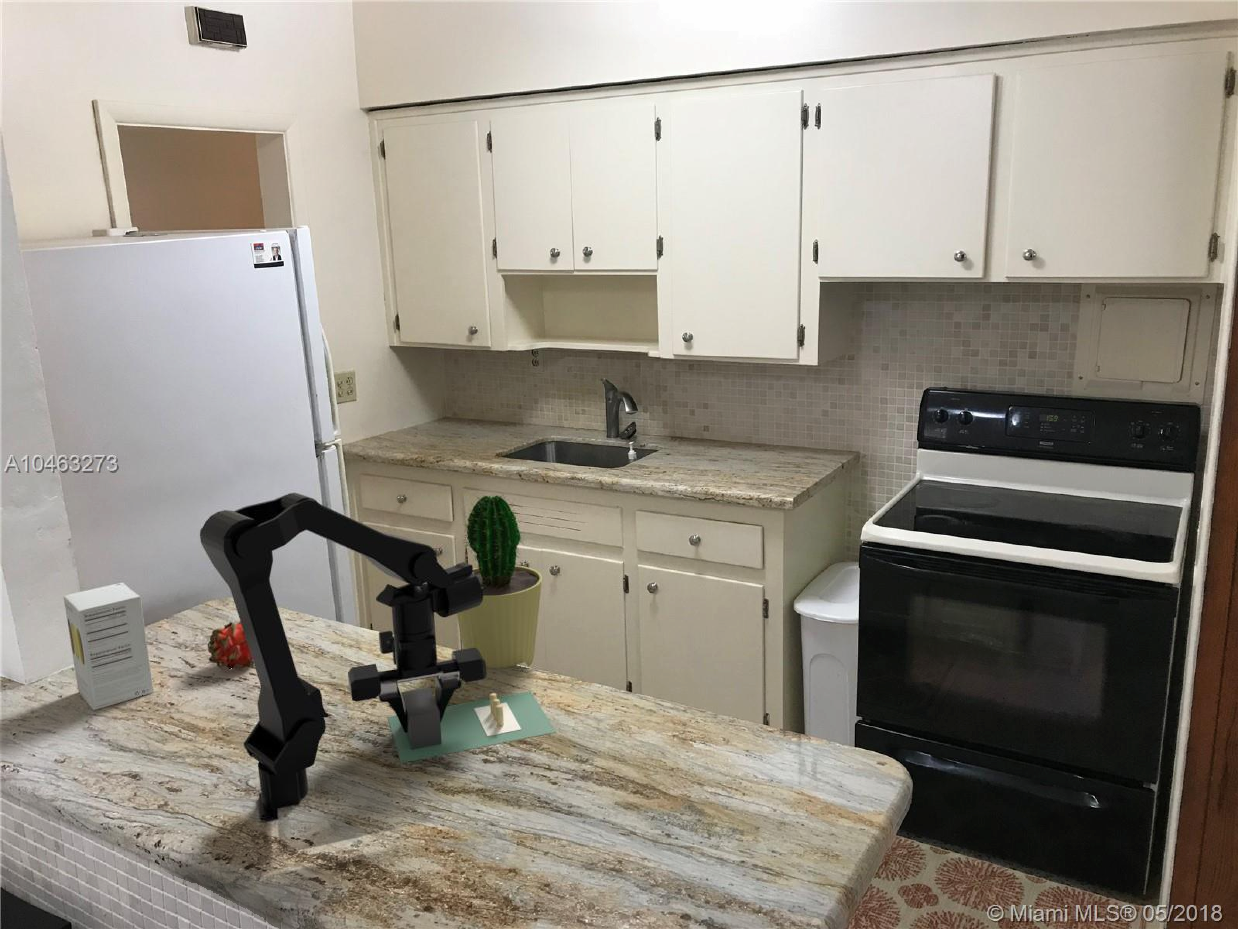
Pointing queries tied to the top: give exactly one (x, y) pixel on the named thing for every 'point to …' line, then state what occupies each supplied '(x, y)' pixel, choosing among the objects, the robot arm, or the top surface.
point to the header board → (479, 725)
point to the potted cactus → (500, 589)
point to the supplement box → (108, 645)
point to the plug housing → (422, 718)
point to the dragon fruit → (229, 647)
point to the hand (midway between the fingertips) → (421, 728)
